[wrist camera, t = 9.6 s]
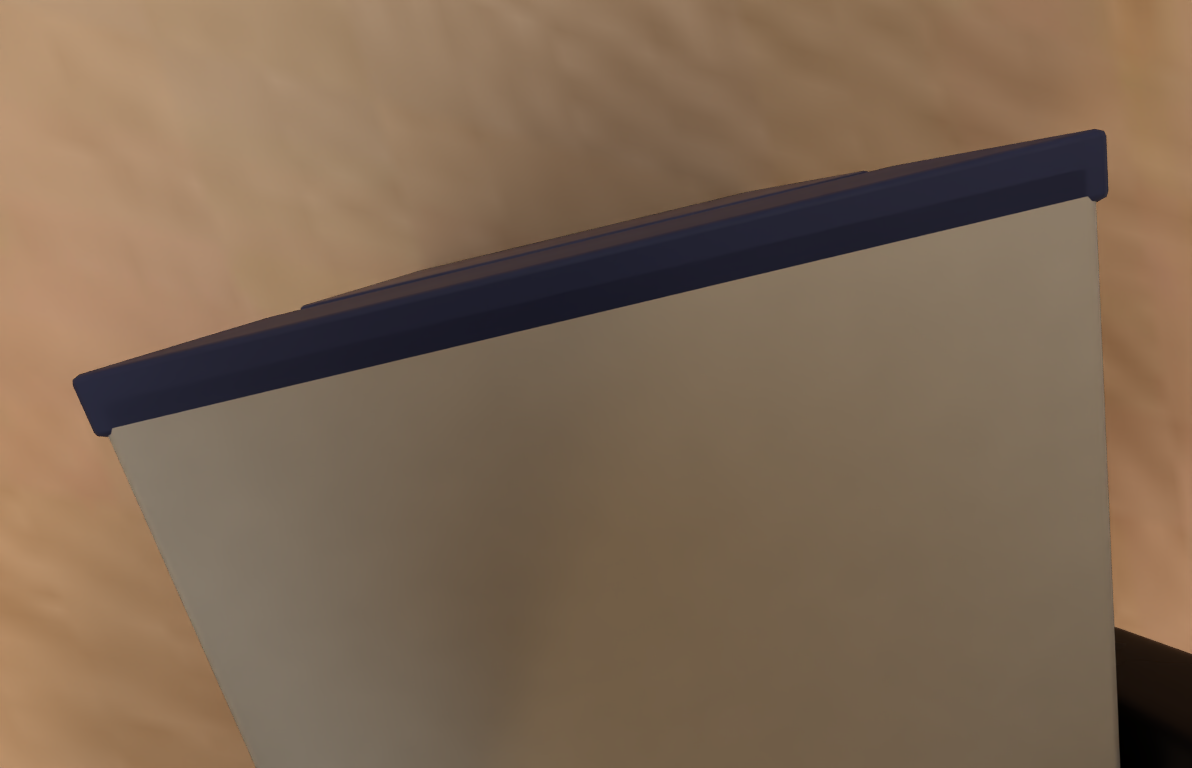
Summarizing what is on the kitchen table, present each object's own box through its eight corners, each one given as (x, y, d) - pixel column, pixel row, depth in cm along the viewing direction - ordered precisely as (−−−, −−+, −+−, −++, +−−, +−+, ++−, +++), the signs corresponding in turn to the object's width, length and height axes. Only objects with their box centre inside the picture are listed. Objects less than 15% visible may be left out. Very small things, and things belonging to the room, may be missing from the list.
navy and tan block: (553, 727, 14) (537, 993, 9) (416, 271, 12) (296, 306, 7) (829, 669, 14) (960, 910, 9) (748, 191, 11) (870, 168, 7)
